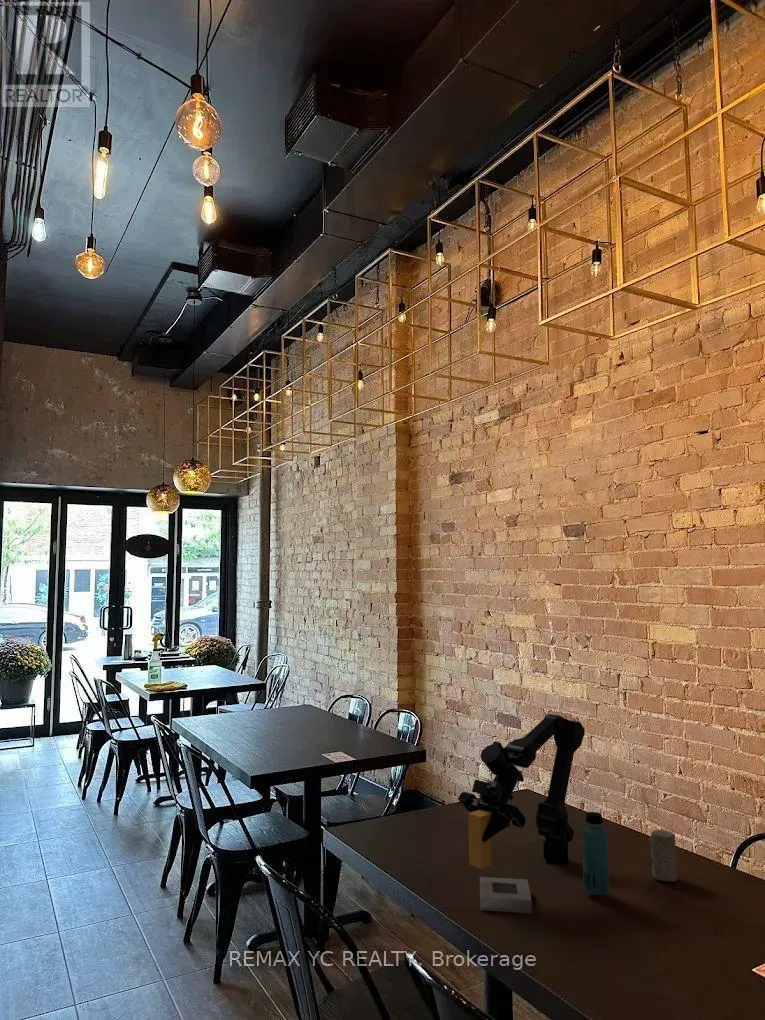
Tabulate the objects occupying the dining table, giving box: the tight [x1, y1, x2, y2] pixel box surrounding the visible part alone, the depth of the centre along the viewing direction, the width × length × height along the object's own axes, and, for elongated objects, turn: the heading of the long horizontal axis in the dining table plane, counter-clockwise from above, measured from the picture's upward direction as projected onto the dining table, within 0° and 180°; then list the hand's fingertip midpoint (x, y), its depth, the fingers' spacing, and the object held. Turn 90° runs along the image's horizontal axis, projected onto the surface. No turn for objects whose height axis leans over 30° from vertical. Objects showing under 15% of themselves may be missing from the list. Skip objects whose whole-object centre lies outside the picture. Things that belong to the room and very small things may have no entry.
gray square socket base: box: [479, 876, 533, 914], centre depth 172 cm, size 12×12×3 cm
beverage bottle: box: [581, 811, 610, 896], centre depth 176 cm, size 6×7×20 cm
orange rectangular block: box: [468, 810, 492, 870], centre depth 178 cm, size 4×4×12 cm
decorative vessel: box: [650, 829, 678, 883], centre depth 186 cm, size 6×8×12 cm
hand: (476, 838), depth 177 cm, fingers closed on orange rectangular block, 4 cm apart
